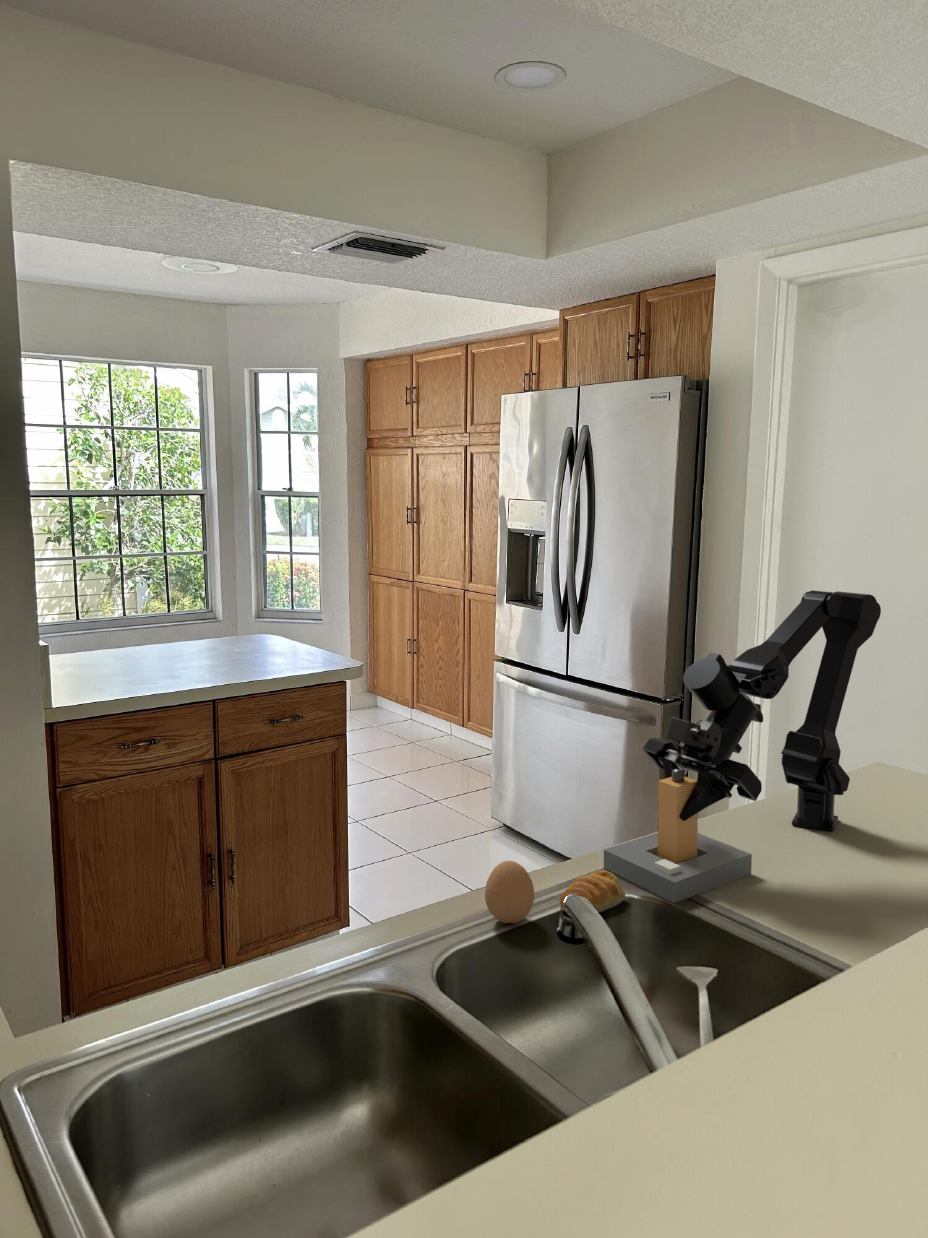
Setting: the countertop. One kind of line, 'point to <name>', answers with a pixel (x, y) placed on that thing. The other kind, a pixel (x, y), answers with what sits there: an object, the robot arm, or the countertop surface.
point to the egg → (509, 892)
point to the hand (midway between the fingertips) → (671, 815)
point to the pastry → (597, 890)
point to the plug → (676, 819)
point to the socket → (677, 867)
